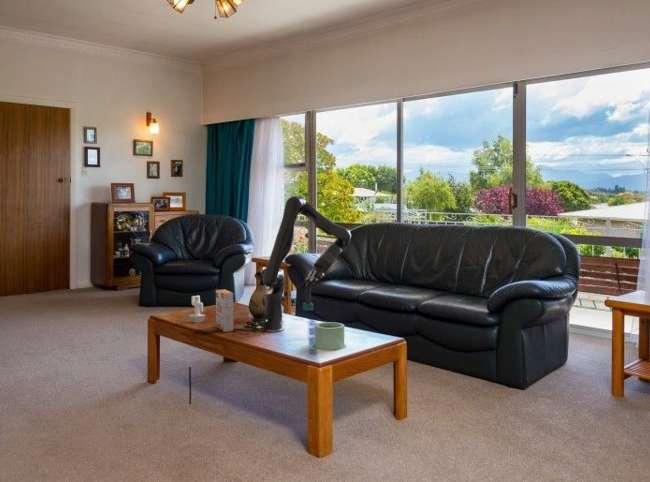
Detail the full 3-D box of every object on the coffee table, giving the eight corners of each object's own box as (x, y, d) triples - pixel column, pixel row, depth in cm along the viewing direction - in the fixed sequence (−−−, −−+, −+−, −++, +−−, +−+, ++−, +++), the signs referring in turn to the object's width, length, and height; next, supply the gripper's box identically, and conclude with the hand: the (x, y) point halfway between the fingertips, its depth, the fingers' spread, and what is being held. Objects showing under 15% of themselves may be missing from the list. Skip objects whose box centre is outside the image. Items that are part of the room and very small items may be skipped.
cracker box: (215, 327, 309) (215, 289, 309) (225, 326, 312) (226, 289, 312) (222, 332, 297) (222, 293, 297) (233, 331, 299) (233, 292, 300)
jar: (314, 349, 262) (314, 328, 262) (315, 342, 276) (315, 322, 276) (344, 349, 262) (344, 328, 262) (344, 342, 276) (344, 322, 276)
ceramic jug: (262, 322, 322) (263, 270, 322) (243, 319, 330) (243, 269, 331) (281, 318, 335) (281, 268, 336) (262, 315, 344) (262, 266, 344)
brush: (302, 310, 274) (302, 279, 274) (303, 308, 279) (303, 278, 279) (312, 310, 274) (313, 280, 274) (313, 308, 279) (313, 278, 279)
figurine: (196, 323, 319) (196, 297, 319) (187, 321, 325) (187, 295, 325) (207, 321, 324) (207, 295, 324) (197, 319, 331) (197, 294, 331)
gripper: (313, 255, 286) (292, 281, 279) (328, 257, 275) (307, 284, 268) (321, 265, 289) (301, 291, 282) (337, 268, 278) (316, 294, 271)
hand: (304, 287), depth 275 cm, fingers closed on brush, 2 cm apart
